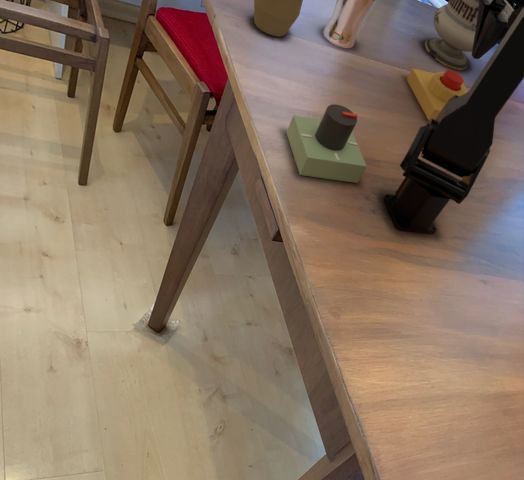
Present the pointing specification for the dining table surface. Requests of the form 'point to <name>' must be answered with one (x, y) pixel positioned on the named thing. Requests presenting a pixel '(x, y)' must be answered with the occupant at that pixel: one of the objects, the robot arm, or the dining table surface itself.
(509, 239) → the dining table surface
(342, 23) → the beer glass
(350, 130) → the knob
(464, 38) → the apothecary jar
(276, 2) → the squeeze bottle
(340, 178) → the panel
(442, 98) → the button block
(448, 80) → the button
